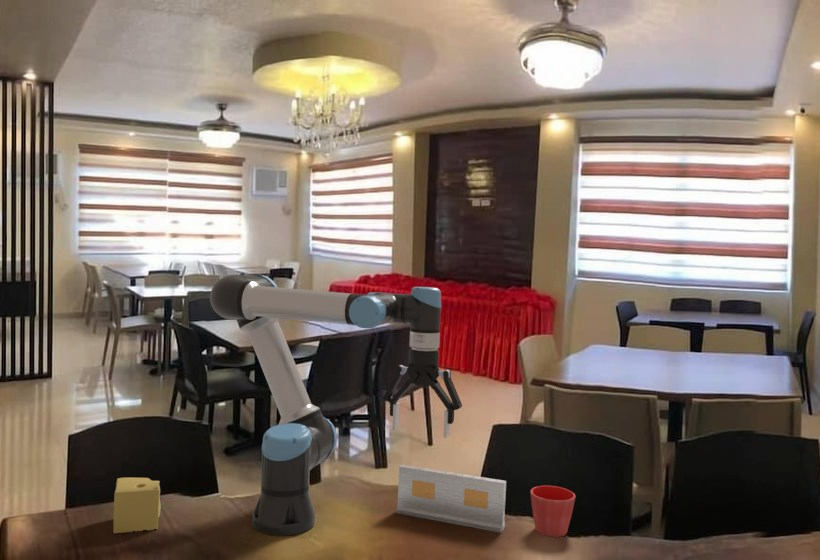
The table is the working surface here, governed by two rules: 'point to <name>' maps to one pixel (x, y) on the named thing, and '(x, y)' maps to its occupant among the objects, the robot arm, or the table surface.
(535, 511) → the flower pot
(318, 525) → the table surface
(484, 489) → the label panel
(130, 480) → the cheese
